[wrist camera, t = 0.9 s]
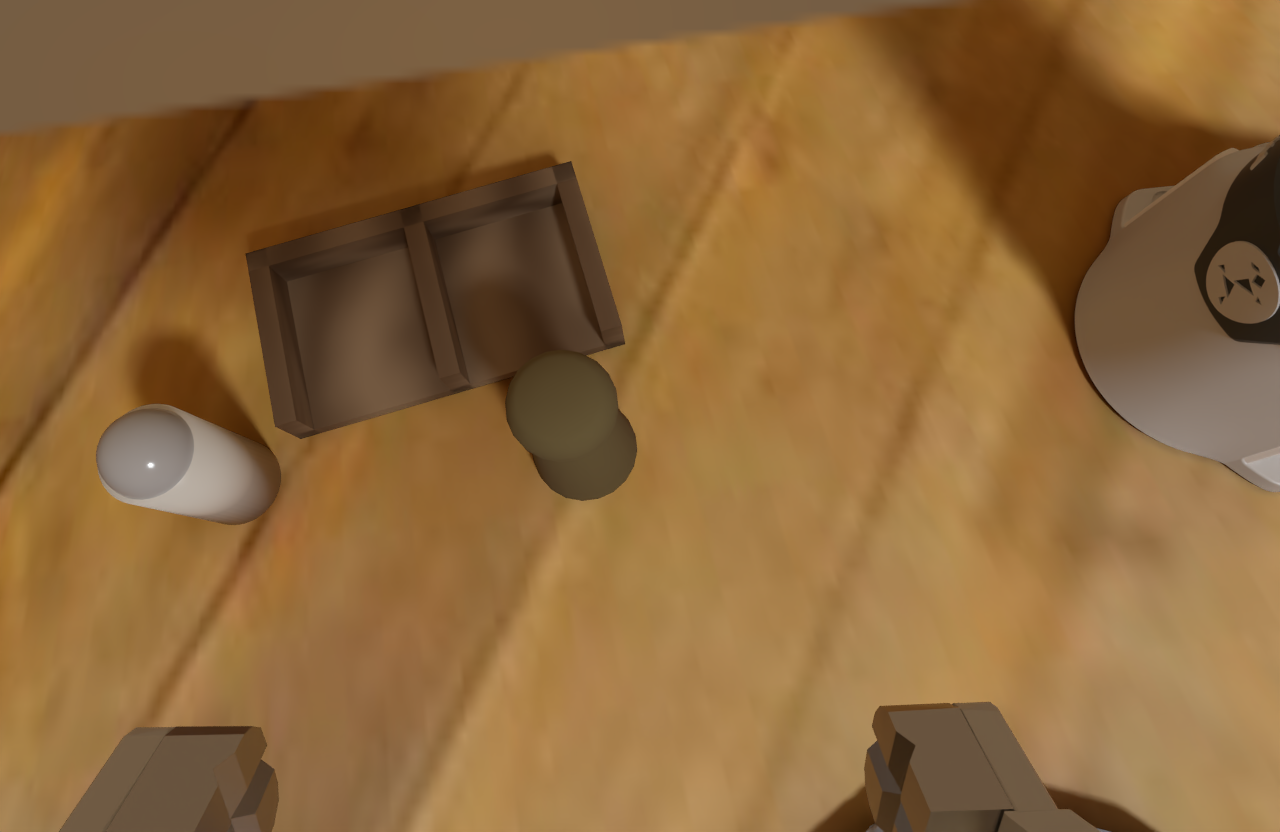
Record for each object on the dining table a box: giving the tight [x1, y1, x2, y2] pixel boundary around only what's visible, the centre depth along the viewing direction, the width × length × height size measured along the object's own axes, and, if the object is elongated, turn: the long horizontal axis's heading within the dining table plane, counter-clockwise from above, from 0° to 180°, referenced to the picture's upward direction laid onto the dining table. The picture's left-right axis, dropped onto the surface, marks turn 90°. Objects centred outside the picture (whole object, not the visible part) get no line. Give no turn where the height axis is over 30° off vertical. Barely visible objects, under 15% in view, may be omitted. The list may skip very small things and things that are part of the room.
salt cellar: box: [96, 404, 281, 525], centre depth 40 cm, size 5×5×10 cm
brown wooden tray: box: [246, 161, 625, 439], centre depth 46 cm, size 20×11×3 cm, turn 106°
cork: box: [505, 350, 637, 501], centre depth 39 cm, size 6×6×11 cm
